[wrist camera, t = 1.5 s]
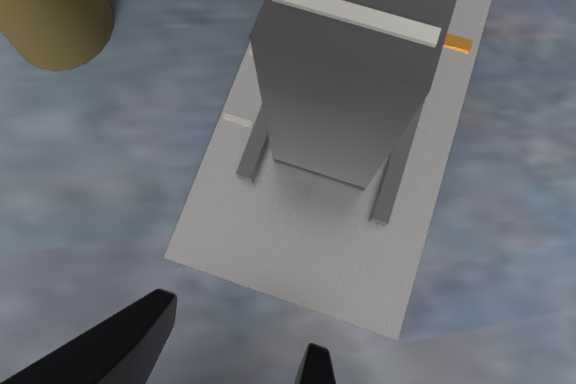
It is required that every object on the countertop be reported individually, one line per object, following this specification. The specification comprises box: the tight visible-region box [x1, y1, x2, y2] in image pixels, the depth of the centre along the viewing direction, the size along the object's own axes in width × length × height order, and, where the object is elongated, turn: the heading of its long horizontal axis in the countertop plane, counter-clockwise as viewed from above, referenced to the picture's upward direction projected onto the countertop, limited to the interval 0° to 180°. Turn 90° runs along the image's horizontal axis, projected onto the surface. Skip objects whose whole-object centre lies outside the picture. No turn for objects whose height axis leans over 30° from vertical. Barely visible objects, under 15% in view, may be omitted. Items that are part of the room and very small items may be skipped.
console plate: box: [164, 0, 491, 340], centre depth 23 cm, size 20×12×2 cm, turn 162°
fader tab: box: [250, 0, 457, 188], centre depth 17 cm, size 3×5×11 cm, turn 72°
